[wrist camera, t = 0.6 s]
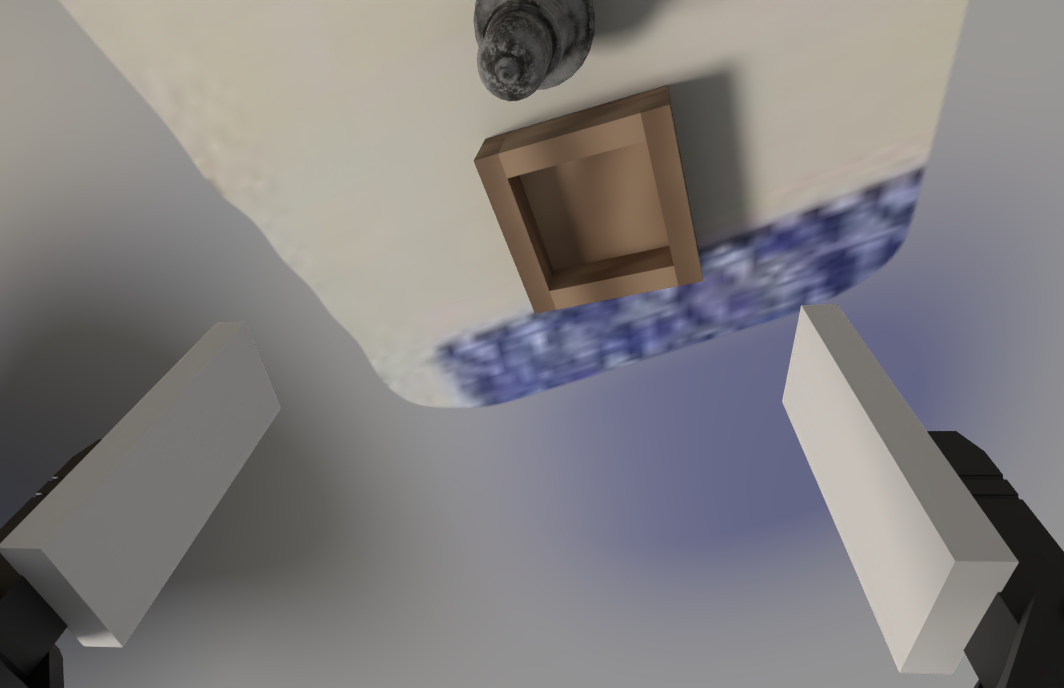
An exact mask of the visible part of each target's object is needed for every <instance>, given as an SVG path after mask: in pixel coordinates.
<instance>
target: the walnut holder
mask: <svg viewBox="0 0 1064 688" xmlns="http://www.w3.org/2000/svg"><path fill="white" fill-rule="evenodd" d="M474 163H475V165H476V168H477V170H478V173H479V175H480V178H481V180H482V183H483V185H484V188H485V190H486V193H487V195H488V198H489V200H490V203H491V205H492V208H493V210H494V213H495V215H496V218H497V220H498V223H499V225H500V228H501V230H502V233H503V235H504V238H505V240H506V243H507V245H508V247H509V250H510V252H511V255H512V257H513V260H514V262H515V265H516V267H517V270H518V272H519V275H520V277H521V280H522V282H523V285H524V287H525V290H526V292H527V295H528V297H529V300H530V302H531V305H532V307H533V310H534V312H535V314H536V313H541V312H546V311H551V310H556V309H561V308H567V307H572V306H577V305H582V304H587V303H592V302H598V301H603V300H608V299H613V298H618V297H623V296H629V295H634V294H639V293H644V292H649V291H655V290H660V289H665V288H670V287H675V286H680V285H686V284H691V283H696V282H701V281H703V278H702V272H701V265H700V258H699V252H698V247H697V242H696V236H695V231H694V226H693V220H692V215H691V210H690V204H689V199H688V194H687V188H686V183H685V178H684V172H683V167H682V162H681V156H680V151H679V146H678V140H677V135H676V130H675V125H674V119H673V114H672V109H671V103H670V98H669V93H668V87H667V86H663V87H660V88H657V89H653V90H650V91H646V92H643V93H640V94H636V95H633V96H630V97H626V98H623V99H619V100H616V101H613V102H609V103H606V104H603V105H599V106H596V107H593V108H589V109H586V110H582V111H579V112H576V113H572V114H569V115H566V116H562V117H559V118H555V119H552V120H549V121H545V122H542V123H539V124H535V125H532V126H528V127H525V128H522V129H518V130H515V131H512V132H508V133H505V134H502V135H498V136H495V137H491V138H488V139H485V141H484V142H483V144H482V146H481V148H480V150H479V152H478V154H477V156H476V157H475V159H474Z"/></svg>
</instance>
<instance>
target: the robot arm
mask: <svg viewBox="0 0 1064 688" xmlns="http://www.w3.org/2000/svg"><path fill="white" fill-rule="evenodd" d="M782 402H783V404H784V407H785V409H786V411H787V413H788V416H789V418H790V421H791V423H792V425H793V427H794V430H795V432H796V434H797V436H798V439H799V441H800V443H801V446H802V448H803V451H804V453H805V455H806V458H807V460H808V462H809V464H810V467H811V469H812V471H813V474H814V476H815V478H816V480H817V483H818V485H819V488H820V490H821V492H822V494H823V497H824V499H825V501H826V504H827V506H828V508H829V510H830V513H831V515H832V518H833V520H834V522H835V525H836V527H837V529H838V531H839V534H840V536H841V538H842V541H843V543H844V545H845V548H846V550H847V552H848V554H849V557H850V559H851V562H852V564H853V566H854V568H855V571H856V573H857V575H858V578H859V580H860V582H861V585H862V587H863V589H864V591H865V594H866V596H867V599H868V601H869V603H870V605H871V608H872V610H873V612H874V615H875V617H876V619H877V622H878V624H879V626H880V628H881V631H882V633H883V635H884V638H885V640H886V642H887V645H888V647H889V649H890V652H891V654H892V656H893V659H894V661H895V663H896V666H897V668H898V670H899V672H900V673H926V674H953V672H954V671H955V669H956V667H957V665H958V664H959V662H960V660H961V659H962V657H963V655H964V654H966V656H967V658H968V660H969V661H970V663H971V665H972V667H973V669H974V671H975V672H976V674H977V676H978V678H979V680H978V682H977V683H976V685H975V687H974V688H1064V551H1063V550H1062V549H1061V548H1060V547H1059V545H1058V544H1057V543H1056V541H1055V540H1054V539H1053V538H1052V536H1051V535H1050V534H1049V533H1048V531H1047V530H1046V529H1045V527H1044V526H1043V525H1042V524H1041V522H1040V521H1039V520H1038V519H1037V517H1036V516H1035V515H1034V513H1033V512H1032V511H1031V510H1030V508H1029V507H1028V506H1027V505H1026V503H1025V502H1024V501H1023V500H1022V499H1019V498H1018V494H1017V492H1016V491H1015V490H1014V488H1013V487H1012V486H1011V484H1010V483H1009V482H1008V481H1007V480H1004V479H1003V474H1002V473H1001V472H1000V470H999V469H998V468H997V467H996V465H995V464H994V463H993V462H992V460H991V459H990V458H989V457H988V455H987V454H986V453H985V451H983V450H982V449H980V448H979V447H978V446H976V445H975V444H973V443H972V442H971V441H969V440H968V439H966V438H965V437H964V436H962V435H961V434H959V433H958V432H957V431H926V430H925V428H924V427H923V425H922V424H921V422H920V421H919V419H918V418H917V417H916V415H915V414H914V412H913V411H912V410H911V408H910V407H909V405H908V404H907V403H906V401H905V400H904V398H903V397H902V395H901V394H900V392H899V391H898V390H897V388H896V387H895V386H894V384H893V383H892V381H891V380H890V378H889V377H888V375H887V374H886V373H885V371H884V370H883V368H882V367H881V366H880V364H879V363H878V361H877V360H876V358H875V357H874V356H873V354H872V353H871V351H870V350H869V348H868V347H867V346H866V344H865V343H864V341H863V340H862V339H861V337H860V336H859V334H858V333H857V332H856V330H855V329H854V327H853V326H852V325H851V323H850V321H849V320H848V319H847V317H846V316H845V315H844V313H843V312H842V310H841V309H840V307H839V306H838V304H832V305H831V304H830V305H801V310H800V315H799V320H798V325H797V330H796V335H795V340H794V345H793V350H792V355H791V361H790V365H789V370H788V376H787V381H786V386H785V391H784V396H783V401H782ZM280 408H281V407H280V405H279V403H278V400H277V398H276V395H275V393H274V390H273V388H272V385H271V383H270V380H269V378H268V375H267V373H266V370H265V368H264V366H263V363H262V360H261V358H260V356H259V353H258V351H257V348H256V346H255V343H254V341H253V338H252V336H251V333H250V331H249V329H248V326H247V323H246V322H224V323H216V324H215V325H214V326H213V327H212V328H211V329H210V330H209V331H208V332H207V333H206V334H205V335H204V336H203V337H202V338H201V339H200V340H199V341H198V342H197V343H196V344H195V345H194V346H193V347H192V348H191V349H190V350H189V351H188V352H187V353H186V354H185V356H184V357H183V358H182V359H181V360H180V361H179V362H178V363H177V364H176V365H175V366H174V367H173V368H172V369H171V370H170V371H169V372H168V373H167V374H166V375H165V376H164V377H163V378H162V379H161V380H160V381H159V382H158V383H157V384H156V385H155V386H154V387H153V388H152V389H151V390H150V391H149V392H148V393H147V394H146V395H145V396H144V397H143V398H142V399H141V401H139V402H138V403H137V404H136V406H135V407H134V408H133V409H132V410H131V411H130V412H129V413H128V414H127V415H126V416H125V417H124V418H123V419H122V420H121V421H120V422H119V423H118V424H117V425H116V426H115V427H114V428H113V429H112V430H111V431H110V432H109V433H108V434H107V435H106V436H105V437H104V438H103V439H99V440H98V441H96V442H95V443H93V444H91V445H90V446H88V447H87V448H85V449H84V450H82V451H81V452H79V453H78V454H76V455H75V456H73V457H72V458H71V459H70V460H69V461H68V462H67V463H66V464H65V465H64V466H63V467H62V468H61V469H60V470H59V471H58V472H57V473H56V474H55V475H54V476H53V480H52V481H48V482H47V483H46V484H45V485H44V486H43V487H42V488H41V489H40V490H39V491H38V492H37V493H36V497H35V498H31V499H30V500H29V501H28V502H27V503H26V504H25V505H24V506H23V507H22V508H21V509H20V510H19V511H18V512H17V513H16V514H15V515H14V516H13V517H12V518H11V519H10V520H9V521H8V522H7V523H6V524H5V525H4V526H3V527H2V528H1V529H0V688H64V676H63V657H62V655H61V652H60V649H59V648H58V647H57V646H56V645H55V642H56V641H57V640H58V638H59V637H60V636H61V634H62V633H63V632H64V630H65V629H66V628H68V629H69V630H70V631H71V632H72V633H73V634H74V636H75V637H76V638H77V639H78V640H79V641H80V642H81V643H82V644H83V645H84V646H99V647H124V645H125V644H126V642H127V641H128V639H129V638H130V636H131V634H132V633H133V631H134V630H135V628H136V627H137V625H138V624H139V622H140V621H141V619H142V618H143V616H144V615H145V613H146V612H147V610H148V609H149V607H150V606H151V604H152V603H153V601H154V600H155V598H156V596H157V595H158V594H159V592H160V590H161V589H162V587H163V586H164V584H165V583H166V581H167V580H168V578H169V577H170V575H171V574H172V572H173V571H174V569H175V568H176V566H177V565H178V563H179V562H180V560H181V559H182V557H183V556H184V554H185V553H186V551H187V550H188V548H189V547H190V545H191V544H192V542H193V540H194V539H195V537H196V536H197V534H198V533H199V531H200V530H201V528H202V527H203V525H204V524H205V522H206V521H207V519H208V518H209V516H210V515H211V513H212V512H213V510H214V509H215V507H216V506H217V504H218V503H219V501H220V500H221V498H222V496H223V495H224V493H225V492H226V490H227V489H228V487H229V486H230V484H231V483H232V481H233V480H234V478H235V477H236V475H237V474H238V472H239V471H240V469H241V468H242V466H243V465H244V463H245V462H246V460H247V459H248V457H249V455H250V454H251V453H252V451H253V449H254V448H255V447H256V445H257V443H258V442H259V440H260V439H261V437H262V436H263V434H264V433H265V431H266V430H267V428H268V427H269V425H270V424H271V422H272V421H273V419H274V418H275V416H276V415H277V413H278V412H279V410H280Z"/></svg>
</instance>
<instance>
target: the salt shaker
mask: <svg viewBox="0 0 1064 688" xmlns="http://www.w3.org/2000/svg"><path fill="white" fill-rule="evenodd" d="M474 28H475V37H476V40H477V43H478V46H479V49H478V55H477V66H478V72H479V75H480V78H481V81H482V82H483V84H484V85H485V87H486V88H487V89H488V90H489V91H490V92H491V93H492V94H493V95H495V96H496V97H498V98H500V99H503V100H507V101H518V100H521V99H524V98H527V97H528V96H530V95H531V94H533V93H534V92H535V91H536V90H540V89H547V88H551V87H554V86H557V85H559V84H561V83H563V82H564V81H566V80H567V79H569V78H570V77H572V76H573V75H574V73H575V72H576V71H577V70H578V69H579V68H580V67H581V66H582V64H583V62H584V61H585V59H586V57H587V55H588V53H589V51H590V48H591V44H592V40H593V36H594V11H593V7H592V0H477V1H476V4H475V13H474Z"/></svg>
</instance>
